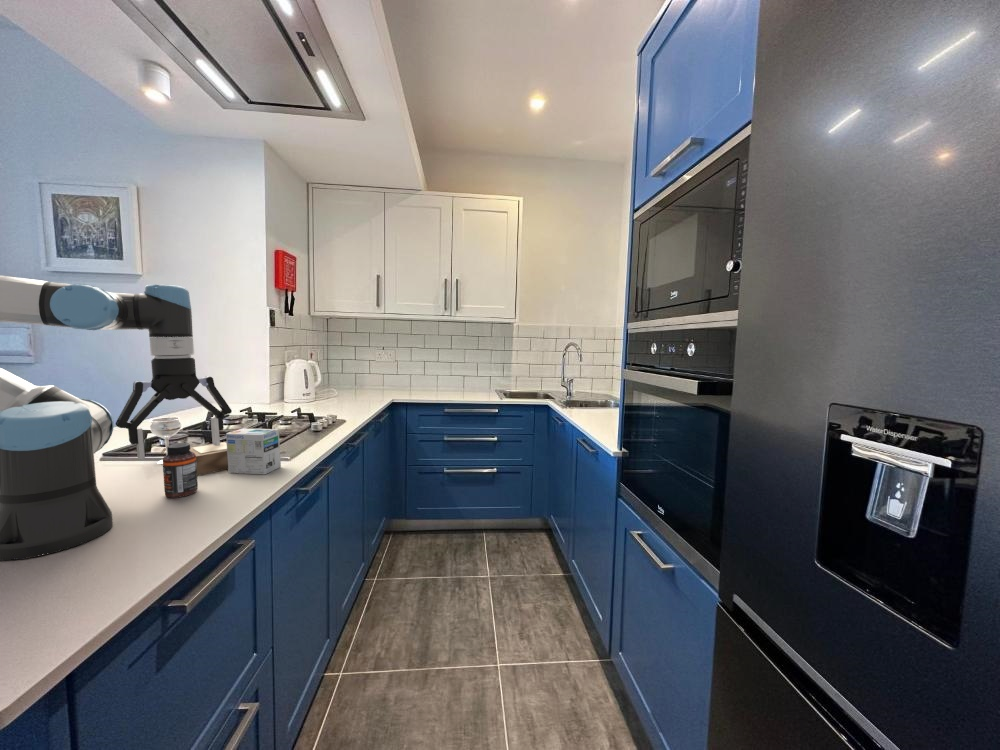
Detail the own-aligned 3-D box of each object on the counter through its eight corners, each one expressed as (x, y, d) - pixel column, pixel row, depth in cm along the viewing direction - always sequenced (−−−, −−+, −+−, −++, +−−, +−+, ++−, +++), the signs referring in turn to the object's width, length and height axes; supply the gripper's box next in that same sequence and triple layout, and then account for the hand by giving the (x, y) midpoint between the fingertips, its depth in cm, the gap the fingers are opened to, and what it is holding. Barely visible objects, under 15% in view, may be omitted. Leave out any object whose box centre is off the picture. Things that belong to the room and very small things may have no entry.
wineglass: (146, 463, 113) (143, 420, 112) (172, 456, 120) (169, 416, 119) (163, 465, 111) (160, 422, 110) (189, 458, 118) (186, 417, 117)
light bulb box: (281, 467, 111) (280, 428, 110) (265, 475, 105) (263, 434, 104) (245, 465, 112) (243, 427, 111) (226, 473, 106) (224, 433, 105)
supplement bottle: (159, 495, 91) (155, 446, 90) (189, 486, 96) (186, 440, 95) (173, 500, 88) (169, 449, 87) (203, 491, 93) (200, 443, 92)
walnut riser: (196, 475, 104) (194, 455, 103) (183, 466, 111) (182, 447, 110) (244, 465, 112) (243, 447, 112) (230, 457, 119) (229, 440, 119)
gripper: (96, 360, 77) (107, 468, 80) (243, 355, 97) (248, 442, 99) (91, 359, 82) (101, 461, 84) (232, 354, 101) (237, 437, 103)
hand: (180, 451), depth 91 cm, fingers open, 13 cm apart
